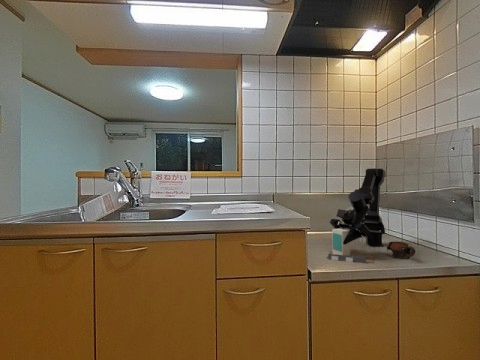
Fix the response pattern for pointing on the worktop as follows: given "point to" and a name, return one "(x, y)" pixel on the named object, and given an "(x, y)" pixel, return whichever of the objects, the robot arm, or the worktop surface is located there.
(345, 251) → the carton
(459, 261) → the worktop surface
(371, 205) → the robot arm
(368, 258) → the shelf board
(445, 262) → the worktop surface
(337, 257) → the rail
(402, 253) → the pottery mug
